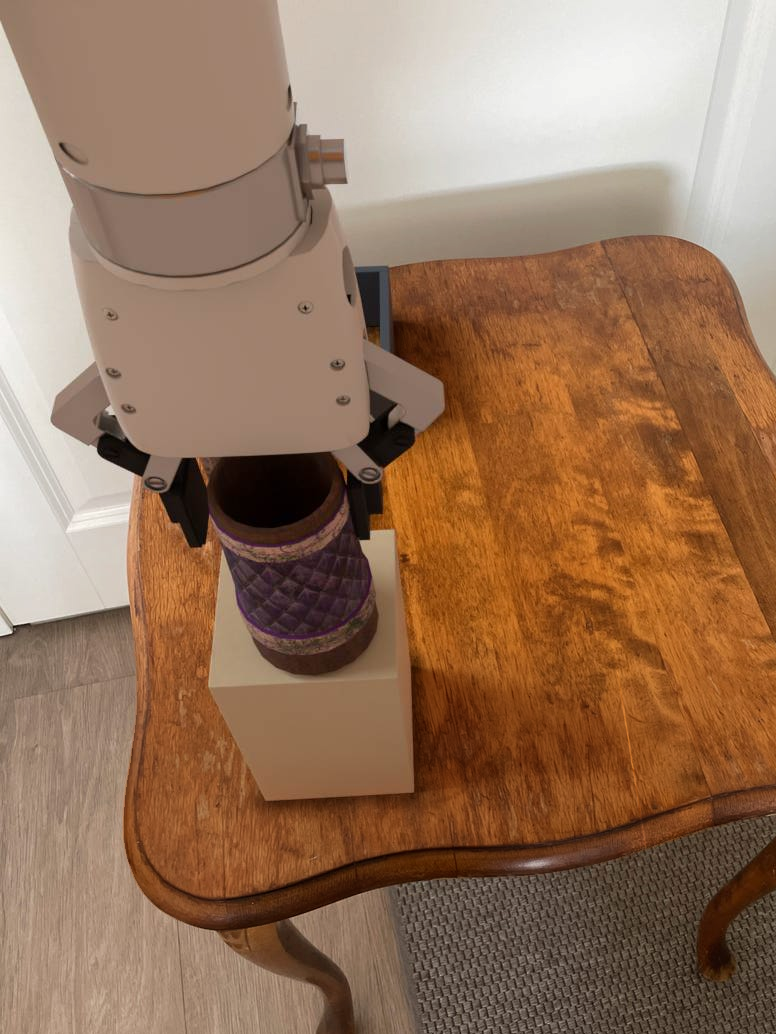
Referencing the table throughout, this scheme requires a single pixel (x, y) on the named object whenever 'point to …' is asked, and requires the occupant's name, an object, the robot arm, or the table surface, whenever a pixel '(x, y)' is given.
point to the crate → (377, 317)
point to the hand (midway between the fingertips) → (282, 519)
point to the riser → (321, 701)
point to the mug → (294, 558)
